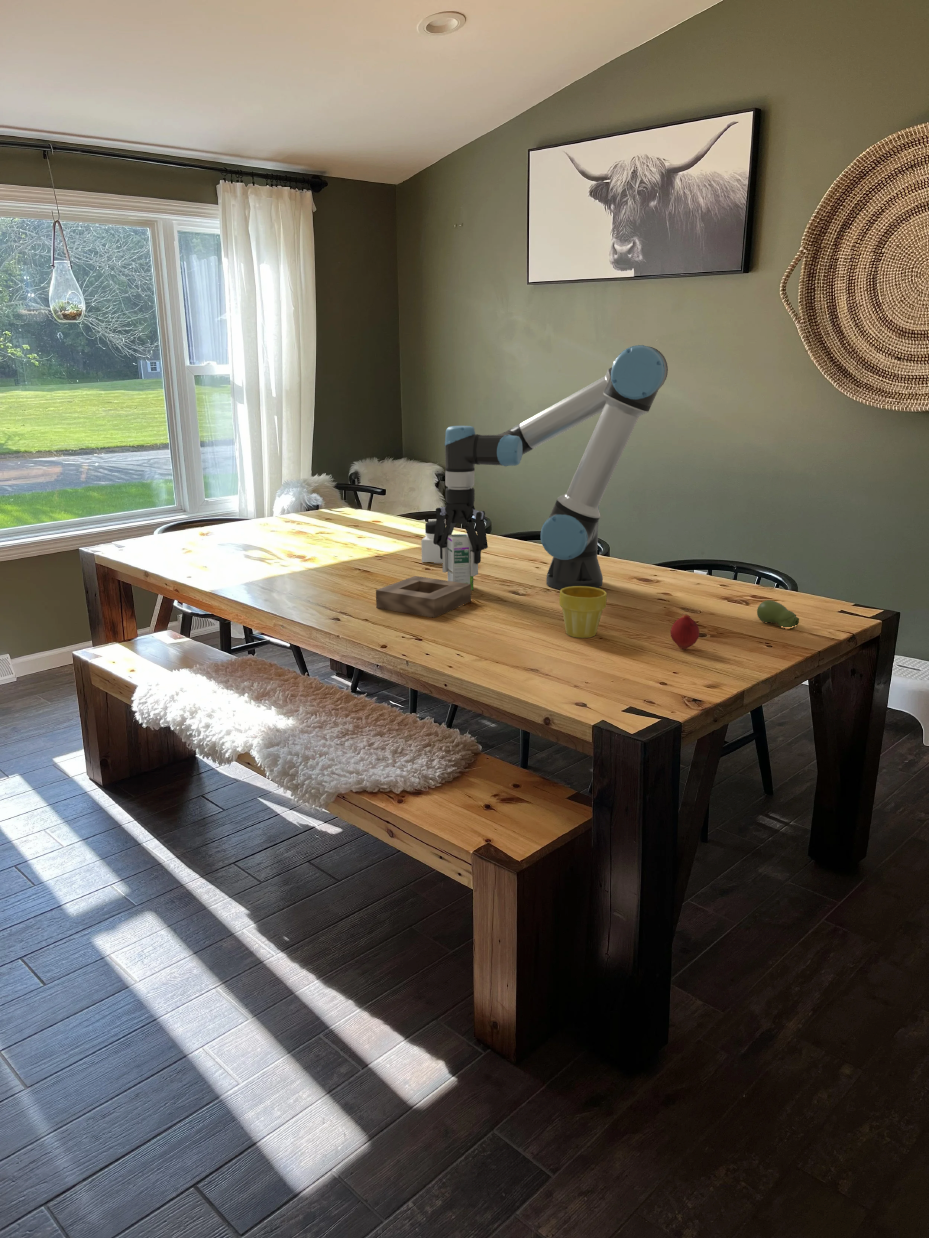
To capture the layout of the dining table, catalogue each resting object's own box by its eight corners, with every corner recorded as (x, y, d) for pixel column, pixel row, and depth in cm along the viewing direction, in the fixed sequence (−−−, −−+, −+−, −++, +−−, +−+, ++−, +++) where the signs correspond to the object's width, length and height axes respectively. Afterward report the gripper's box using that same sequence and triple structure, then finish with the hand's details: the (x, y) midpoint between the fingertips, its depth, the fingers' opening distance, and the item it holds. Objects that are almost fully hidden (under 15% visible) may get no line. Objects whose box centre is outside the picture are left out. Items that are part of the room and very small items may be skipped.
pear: (770, 595, 209) (806, 611, 202) (764, 615, 211) (800, 632, 204) (755, 598, 206) (792, 615, 199) (749, 619, 208) (786, 636, 201)
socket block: (471, 601, 225) (471, 584, 224) (434, 617, 211) (434, 599, 210) (415, 592, 234) (415, 575, 232) (376, 607, 220) (375, 590, 218)
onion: (693, 644, 191) (696, 609, 189) (701, 653, 186) (704, 616, 184) (666, 645, 191) (668, 609, 189) (673, 653, 186) (676, 616, 183)
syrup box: (452, 592, 234) (452, 537, 230) (447, 586, 240) (446, 533, 235) (473, 590, 236) (473, 536, 231) (467, 585, 241) (467, 532, 237)
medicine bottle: (444, 563, 266) (444, 524, 262) (421, 562, 267) (420, 523, 264) (449, 558, 273) (449, 519, 269) (427, 557, 274) (426, 519, 271)
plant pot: (612, 631, 201) (614, 589, 198) (594, 643, 192) (596, 599, 190) (569, 624, 206) (571, 583, 203) (550, 636, 197) (551, 593, 195)
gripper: (502, 488, 228) (501, 575, 234) (434, 482, 238) (435, 566, 245) (487, 492, 222) (487, 581, 228) (418, 486, 232) (419, 571, 238)
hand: (460, 573), depth 236 cm, fingers closed on syrup box, 8 cm apart
